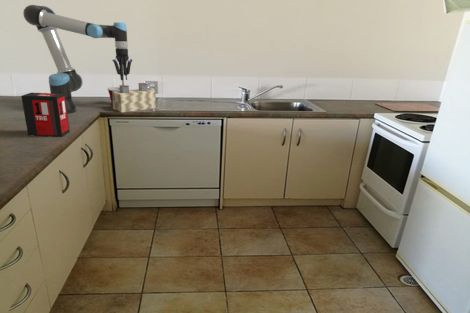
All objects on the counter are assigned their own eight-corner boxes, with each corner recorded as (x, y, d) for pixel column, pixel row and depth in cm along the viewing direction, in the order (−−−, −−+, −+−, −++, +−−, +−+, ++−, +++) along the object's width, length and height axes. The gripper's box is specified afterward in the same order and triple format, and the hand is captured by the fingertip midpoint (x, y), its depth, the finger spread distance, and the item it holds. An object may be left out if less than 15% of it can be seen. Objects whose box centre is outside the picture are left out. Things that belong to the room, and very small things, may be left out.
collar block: (121, 112, 221) (120, 94, 217) (113, 109, 229) (111, 91, 225) (155, 108, 238) (155, 91, 234) (147, 105, 246) (146, 88, 242)
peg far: (142, 97, 233) (141, 83, 229) (139, 96, 235) (138, 83, 232) (147, 96, 235) (147, 83, 232) (144, 95, 238) (144, 82, 235)
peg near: (123, 99, 223) (122, 86, 220) (120, 98, 226) (119, 85, 223) (129, 99, 226) (128, 85, 223) (126, 98, 229) (125, 84, 226)
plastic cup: (114, 107, 235) (113, 89, 231) (105, 104, 241) (104, 87, 237) (127, 105, 243) (126, 88, 239) (118, 102, 249) (117, 86, 245)
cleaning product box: (28, 135, 166) (21, 95, 159) (37, 130, 175) (31, 92, 168) (62, 137, 167) (56, 97, 160) (69, 132, 175) (64, 93, 168)
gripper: (114, 48, 208) (117, 86, 216) (133, 48, 217) (135, 85, 225) (109, 47, 213) (112, 85, 221) (128, 47, 222) (130, 83, 230)
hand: (124, 85), depth 223 cm, fingers closed
